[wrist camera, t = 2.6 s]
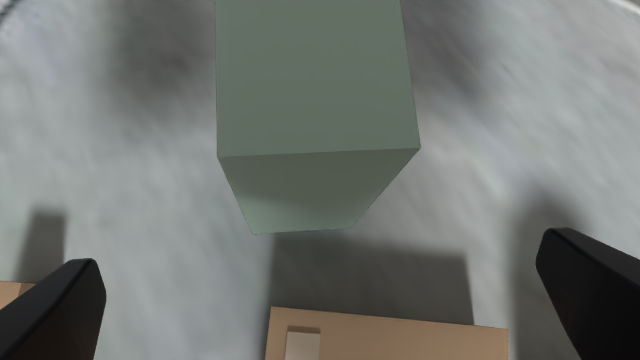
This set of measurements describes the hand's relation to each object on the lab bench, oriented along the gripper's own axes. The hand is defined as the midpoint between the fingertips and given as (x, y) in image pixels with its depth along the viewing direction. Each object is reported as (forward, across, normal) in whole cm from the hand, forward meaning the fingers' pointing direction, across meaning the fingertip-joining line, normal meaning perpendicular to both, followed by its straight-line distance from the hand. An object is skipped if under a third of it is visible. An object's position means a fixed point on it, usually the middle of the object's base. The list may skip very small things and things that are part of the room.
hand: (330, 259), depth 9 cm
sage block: (+11, 0, +5) cm, 12 cm away
